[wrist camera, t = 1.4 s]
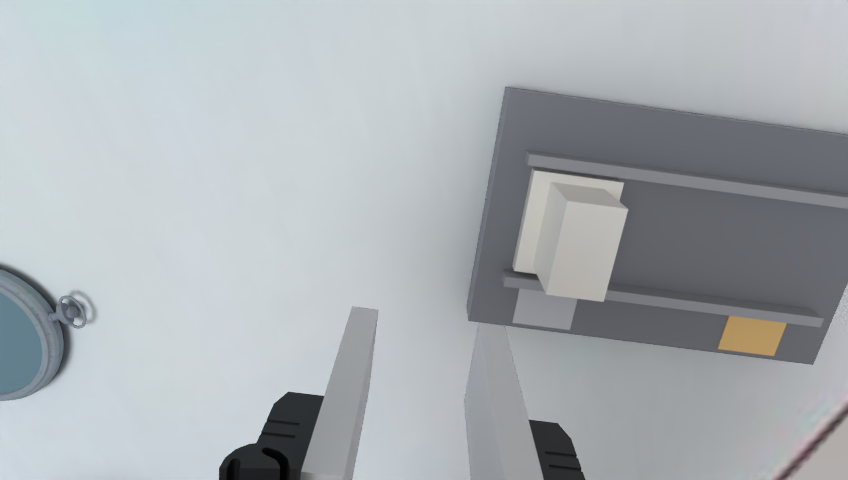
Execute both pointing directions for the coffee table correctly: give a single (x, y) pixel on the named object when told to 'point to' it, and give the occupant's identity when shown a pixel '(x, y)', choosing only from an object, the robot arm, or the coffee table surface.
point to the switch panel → (677, 227)
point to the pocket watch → (29, 337)
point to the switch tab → (570, 232)
